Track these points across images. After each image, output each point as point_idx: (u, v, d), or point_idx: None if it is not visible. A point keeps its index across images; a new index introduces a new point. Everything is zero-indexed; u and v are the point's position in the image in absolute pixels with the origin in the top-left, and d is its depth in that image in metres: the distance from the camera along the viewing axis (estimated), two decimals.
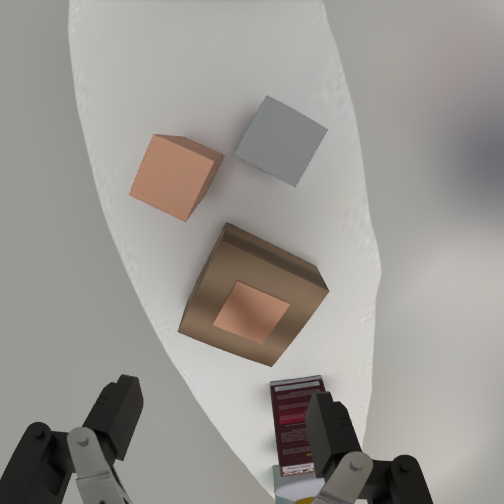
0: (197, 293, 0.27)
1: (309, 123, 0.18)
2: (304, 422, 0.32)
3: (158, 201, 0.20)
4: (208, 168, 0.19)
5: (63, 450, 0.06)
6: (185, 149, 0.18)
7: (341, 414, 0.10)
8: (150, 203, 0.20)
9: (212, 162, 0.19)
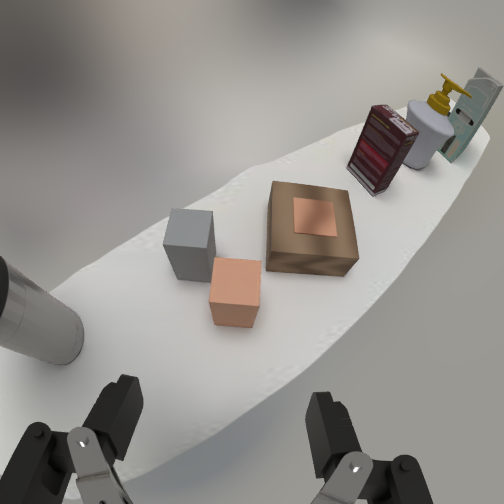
0: (319, 254, 0.35)
1: (172, 218, 0.31)
2: (375, 149, 0.43)
3: (255, 282, 0.28)
4: (220, 258, 0.29)
5: (63, 450, 0.06)
6: (212, 276, 0.28)
7: (341, 414, 0.10)
8: (258, 288, 0.28)
9: (215, 257, 0.29)
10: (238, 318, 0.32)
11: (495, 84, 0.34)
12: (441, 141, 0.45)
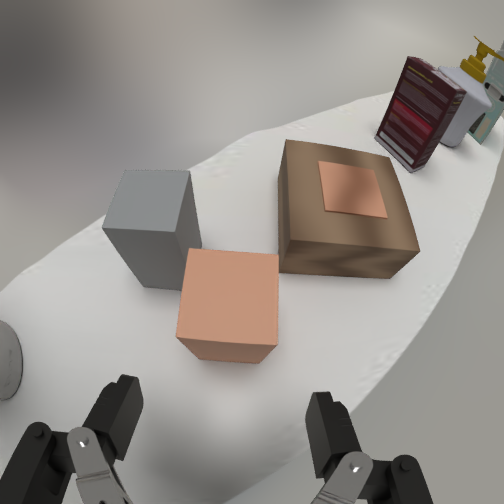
0: (365, 244, 0.21)
1: (122, 184, 0.17)
2: (414, 110, 0.29)
3: (267, 297, 0.14)
4: (199, 251, 0.15)
5: (63, 450, 0.06)
6: (184, 286, 0.14)
7: (341, 414, 0.10)
8: (275, 308, 0.14)
9: (190, 249, 0.15)
10: (236, 356, 0.18)
11: None
12: (479, 112, 0.31)
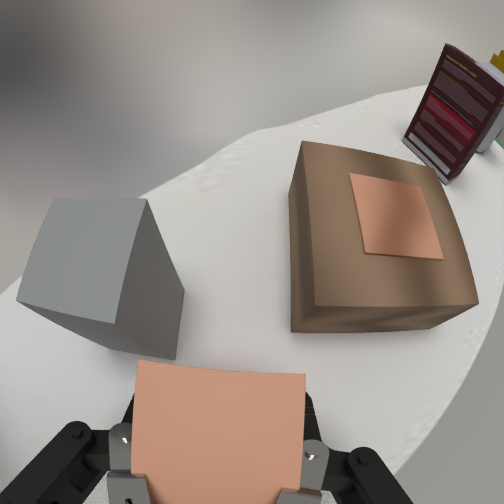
0: (418, 304, 0.13)
1: (47, 223, 0.09)
2: (454, 109, 0.21)
3: (283, 454, 0.06)
4: (158, 366, 0.07)
5: (100, 453, 0.06)
6: (134, 429, 0.06)
7: None
8: (296, 468, 0.06)
9: (141, 362, 0.07)
10: None
11: None
12: None
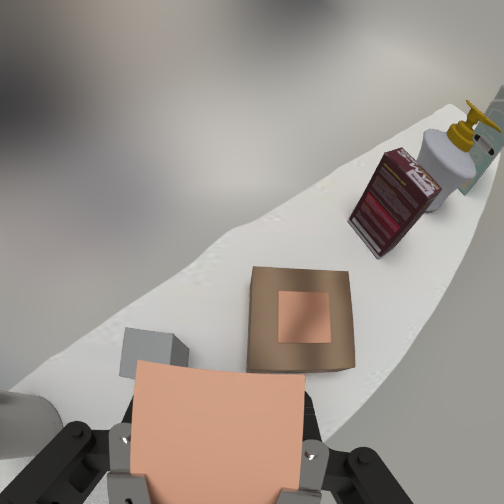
0: (306, 368, 0.27)
1: (126, 341, 0.24)
2: (385, 208, 0.35)
3: (283, 454, 0.06)
4: (157, 367, 0.07)
5: (100, 453, 0.06)
6: (134, 430, 0.06)
7: (305, 403, 0.10)
8: (296, 469, 0.06)
9: (141, 363, 0.07)
10: None
11: None
12: (461, 183, 0.37)
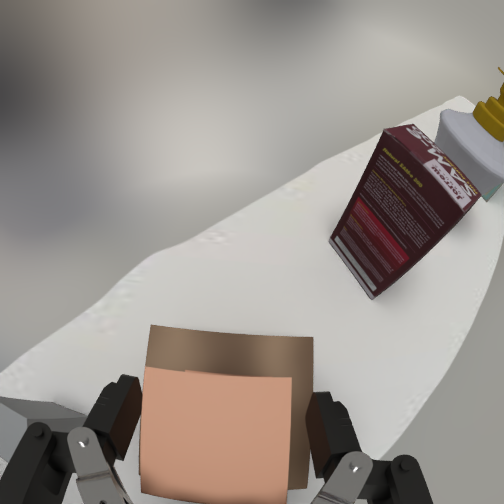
0: None
1: None
2: (385, 224, 0.21)
3: (273, 447, 0.07)
4: (162, 372, 0.08)
5: (63, 450, 0.06)
6: (143, 428, 0.07)
7: (341, 414, 0.10)
8: (285, 460, 0.07)
9: (148, 369, 0.08)
10: None
11: None
12: (493, 186, 0.23)
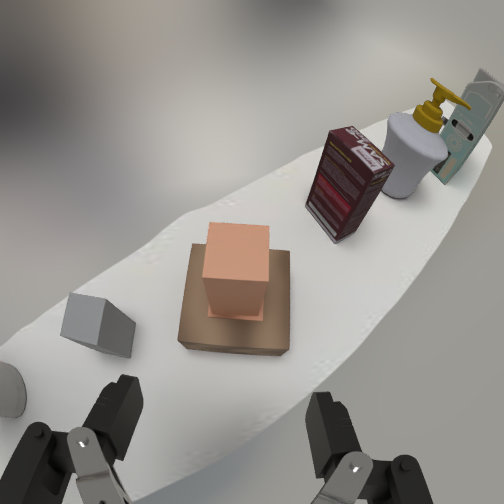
0: (235, 345, 0.28)
1: (69, 304, 0.24)
2: (335, 188, 0.36)
3: (262, 252, 0.22)
4: (217, 223, 0.23)
5: (63, 450, 0.06)
6: (207, 246, 0.22)
7: (341, 414, 0.10)
8: (267, 258, 0.22)
9: (210, 223, 0.23)
10: (241, 302, 0.26)
11: (501, 89, 0.27)
12: (430, 166, 0.38)
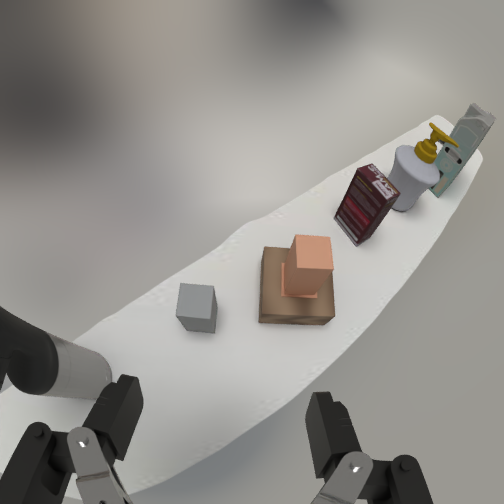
0: (301, 314, 0.43)
1: (181, 292, 0.39)
2: (359, 207, 0.50)
3: (328, 252, 0.36)
4: (300, 235, 0.37)
5: (63, 450, 0.06)
6: (296, 249, 0.36)
7: (341, 414, 0.10)
8: (331, 256, 0.36)
9: (296, 235, 0.37)
10: (309, 284, 0.40)
11: (486, 124, 0.41)
12: (425, 188, 0.52)
